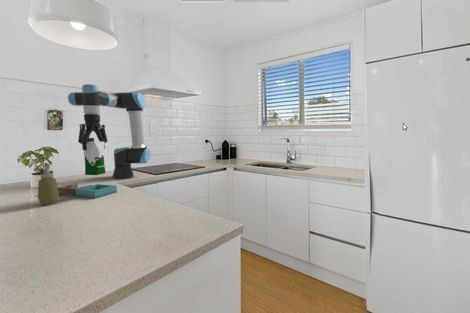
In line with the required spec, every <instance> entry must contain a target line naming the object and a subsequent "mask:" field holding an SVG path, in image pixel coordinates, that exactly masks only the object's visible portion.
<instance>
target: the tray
mask: <svg viewBox="0 0 470 313" xmlns="http://www.w3.org/2000/svg"><path fill="white" fill-rule="evenodd" d="M91 185H92V186H88V185H86V186H87V187H83V186H82V187H83V188H79V187H78V188H79V189H76V196H75V197H78V198H88V199H95V200H96V199H99V198H102V197H105V196H106V197H107V196H108V195H112V194H115V193H118V191H117V190H118V189H117V185H114V184H113V185H112V184H103V183H98V184H91Z"/></svg>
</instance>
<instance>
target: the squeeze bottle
mask: <svg viewBox="0 0 470 313" xmlns="http://www.w3.org/2000/svg"><path fill="white" fill-rule="evenodd" d="M37 186H38V188H37V199H38V201H39V203H40V205H42V206H50V205H54V204H57V203H58V198H59V196H60V195H59V193H58V182H57V179H56V178H55V177H54V174H53V173H51V172H50V170H49V167H48V166H45V167H44V168H43V174H41V175H40V179H39V180H38V185H37Z"/></svg>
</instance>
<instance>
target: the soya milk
mask: <svg viewBox="0 0 470 313" xmlns="http://www.w3.org/2000/svg"><path fill="white" fill-rule="evenodd" d="M87 144H88V145H89V156H84V176H99V175H104V174H106V173H107V172H106V166H105V149H104V144H105V143H104V142H101V141H99V140H98V141H95V137H89V139H88V142H87ZM103 149H104V150H103Z"/></svg>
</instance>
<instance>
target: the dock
mask: <svg viewBox="0 0 470 313" xmlns="http://www.w3.org/2000/svg"><path fill="white" fill-rule="evenodd" d="M92 185H93V184H89V185H84V186H80V187H79V185H78V183H73V184H68V185H64V186H63V185H62V186H57V188H58V193H59V196H66V197H76V189H79V188H83V187H87V186H92Z"/></svg>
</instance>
